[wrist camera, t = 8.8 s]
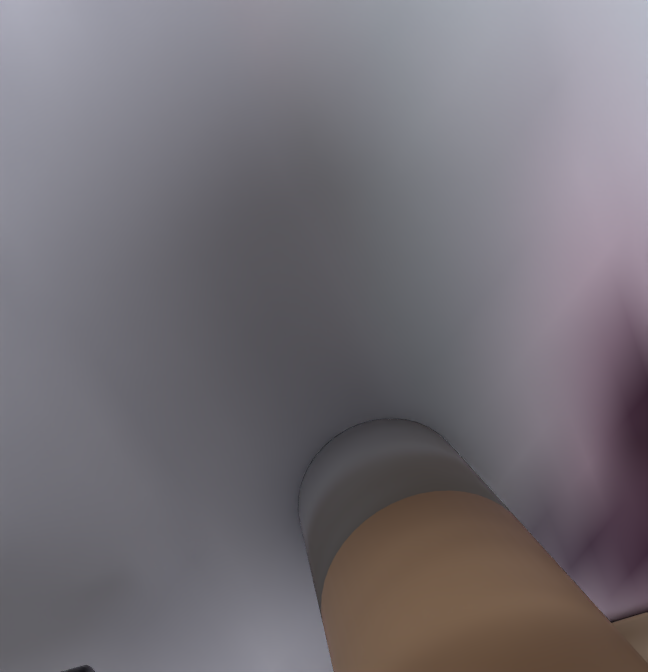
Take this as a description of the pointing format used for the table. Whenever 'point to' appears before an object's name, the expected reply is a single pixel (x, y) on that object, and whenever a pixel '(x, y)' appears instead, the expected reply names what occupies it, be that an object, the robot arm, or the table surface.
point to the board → (635, 632)
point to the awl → (437, 566)
